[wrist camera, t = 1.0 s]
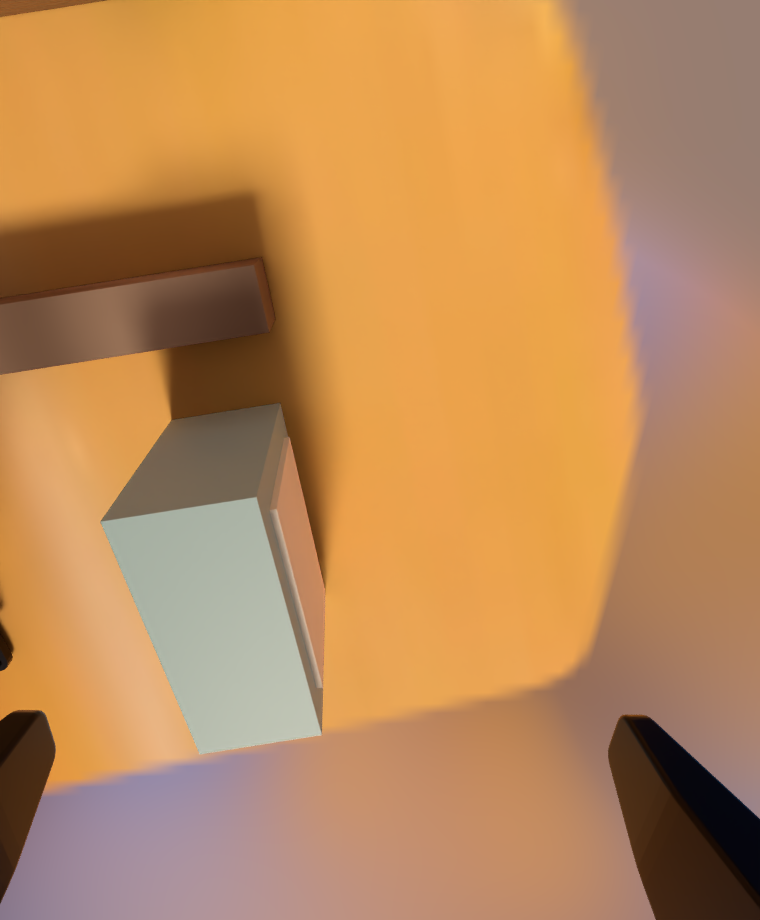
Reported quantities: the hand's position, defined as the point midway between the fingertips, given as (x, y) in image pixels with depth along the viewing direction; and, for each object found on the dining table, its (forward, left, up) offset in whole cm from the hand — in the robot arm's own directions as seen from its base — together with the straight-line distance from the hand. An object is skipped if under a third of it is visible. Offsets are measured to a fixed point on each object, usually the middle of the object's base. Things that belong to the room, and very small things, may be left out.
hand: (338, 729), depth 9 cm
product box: (-4, -4, -14) cm, 14 cm away
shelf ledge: (-9, +5, -13) cm, 17 cm away
